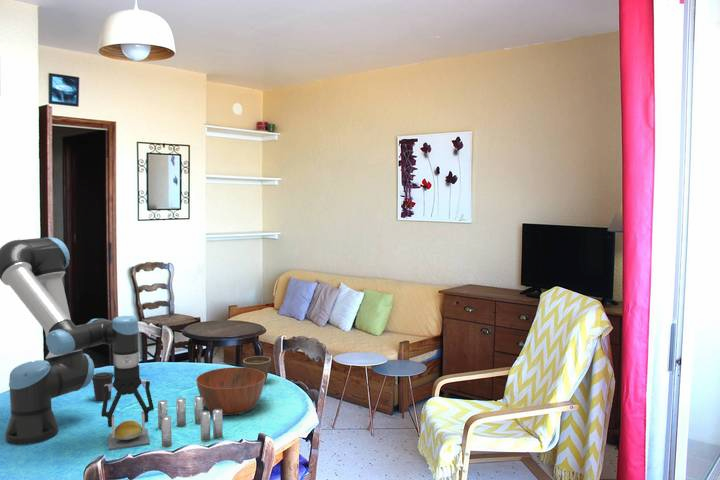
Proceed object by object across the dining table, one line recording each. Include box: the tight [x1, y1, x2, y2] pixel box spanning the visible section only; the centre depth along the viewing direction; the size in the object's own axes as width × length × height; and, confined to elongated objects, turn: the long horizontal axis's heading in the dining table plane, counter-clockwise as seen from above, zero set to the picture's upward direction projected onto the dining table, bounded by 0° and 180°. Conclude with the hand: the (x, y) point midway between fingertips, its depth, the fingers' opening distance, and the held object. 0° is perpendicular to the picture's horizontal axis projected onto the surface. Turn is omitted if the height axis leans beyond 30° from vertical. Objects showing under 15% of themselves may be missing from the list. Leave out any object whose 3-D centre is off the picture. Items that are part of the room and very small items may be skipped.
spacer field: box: [157, 395, 224, 448], centre depth 202 cm, size 19×18×9 cm
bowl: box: [195, 366, 265, 416], centre depth 225 cm, size 25×25×11 cm
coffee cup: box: [91, 371, 114, 403], centre depth 233 cm, size 8×8×10 cm
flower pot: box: [242, 355, 272, 385], centre depth 253 cm, size 12×11×10 cm
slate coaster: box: [108, 428, 150, 451], centre depth 196 cm, size 12×12×1 cm
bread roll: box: [115, 420, 142, 440], centre depth 196 cm, size 8×9×4 cm
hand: (128, 434), depth 196 cm, fingers closed on bread roll, 8 cm apart
